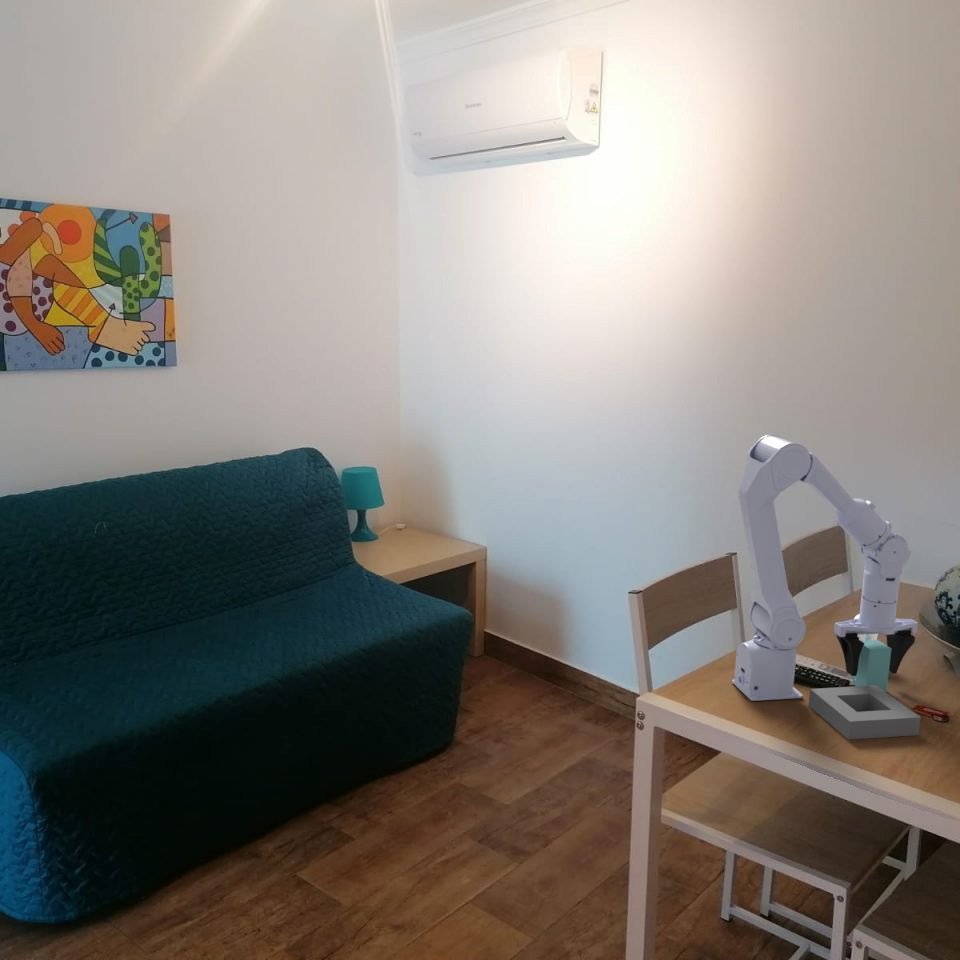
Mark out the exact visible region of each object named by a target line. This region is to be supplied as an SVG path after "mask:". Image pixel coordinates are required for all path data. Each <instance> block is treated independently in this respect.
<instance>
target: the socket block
mask: <svg viewBox="0 0 960 960" xmlns="http://www.w3.org/2000/svg"><path fill="white" fill-rule="evenodd" d="M808 697H809V698H808V707H810V708H811V710H812V711H814V712H815V713H816V714H818V715H819V716H820V717H821V718H822V719H823V720H824V721H826V722H827V724H829V725H830V726H831V727H833V728H834V730H836V731H837V732H838V733H840V735H842V736H843V737H844V738H845V739H847V740H862V739H879V738H891V737H892V738H893V737H908V736H909V737H910V736H919V733H920V725H921V716H920V715H919V714H917V713H916V712H914V711H912V710H911V709H910V708H909V707H907V706H906V705H904V704H903V703H902V702H900V701H899V700H898V699H896V698H894V697H893V696H892V695H890V694H889V693H887V692H885V691H884V690H882V689H881V688H879V687H878V686H877V685H872V686H855V685H854V686H839V687H837V686H836V687H822V688H819V687H818V688H810V689H809V696H808Z"/></svg>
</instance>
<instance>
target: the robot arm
mask: <svg viewBox="0 0 960 960" xmlns="http://www.w3.org/2000/svg"><path fill="white" fill-rule="evenodd" d="M746 460H747V461H746V462H747V463H746V466H745V469H744V472H743V475H742V479H741V481H740V484H739V488H738V498H739V504H740V509H741V514H742V520H743V526H744V531H745V532H744V533H745V538H746V542H747V543H746V544H747V548H748V549H747V550H748V553H749V554H748V555H749V559H750V566H751V571H752V576H753V583H754V588H755V590H753V591H752V592H751V594H750V598H751V606H750V609H749V613H748V617H749V621H750V623H751V625H752V626H753V627H754V632H753V638H752V639H750V640H748V641H744V642H741V643H739V644H738V646H737V649H736V652H735V664H734V677H733V679H732V681H731V682H732V684H734V685H735V687H736V688H738V690H739V691H741V692H742V693H743V694H744V695H745V696H746V697H747V698H748V699H749V700H750V701H752V702H755V701H757V702H758V701H771V700H772V701H774V700H790V699H802V698H804V695H803V693H802V692H800V691H799V690H798V689H797V688H796V687H794V684H795V683H794V682H795V672H796V662H797V661H796V660H797V649H798V645H799V644H800V643H802V641H803V640H804V638H805V636H806V633H807V626H806V623H805V622H806V621H804V619H803V618H802V617H801V615H800V614H799V612H798V607H797V603H796V602H795V599H794V597H793V596H792V594H791V592H790V589H789V587H788V579H787V574H786V567H785V563H784V555H783V550H782V544H781V539H780V533H779V527H778V520H777V516H776V510H775V508H776V507H775V503H774V502H775V500H776V499H777V498H778V497H779V495H780V494H782V492H784V491H785V490H786V489H788V488H790V487H791V486H793V485H794V484H796V483H797V482H798V481H800V482H802V483H805V484H808V485H809V487H811V488H812V489H813V490H814V491H815V492H816V493H817V494H818V496H819V495H820V497H821V498H822V499H824V500H825V501H826V502H827V503H828V505H830V506H831V507H832V508H833V510H835V511H836V512H835V513H836V514H835V521H836V523H837V524H838V525H839V527H841V529H843V530H844V531H845V532H846V533H847V534H848V536H850V538H851V539H852V540H853V541H854V542H855V543H856V544H857V545H858V547H859V551H860V553H861V554H863V555H864V556H865V559H864V570H863V578H862V579H863V580H862V588H861V597H860V598H861V599H860V604H859V605H860V608H859V614H860V615H859V618H857V619H854V618H853V619H849V620H845V621H838V622H835V623H834V627H833V628H834V630H833V631H834V632H833V634H835V636H836V638H837V640H838V642H839V645H840V647H841V650H842V654H843V658H844V662H845V663H844V665H845V671H846V673H847V674H849V675H850V676H852V677H853V676H856V675H857V671H858V663H859V657H860V653H861V650H862V648H863V646H864V643H863V642H862V641H860V640H859V637H858V635H859V634H878V635H879V634H882V635H885V636H886V645H887V646H888V647H890V648H891V657H890V666H889V673H892V675H893V674H897V672H898V670H899V668H900V665H901V663H902V661H903V659H904V657H905V655H906V653H907V652H908V650H909V649H910V648H911V647H912V646H913V645H914V644H915V641H916V637H915V636H914V635H913V634H917V633H918V626H919V622H917V621H916V620H914V619H912V618H897V616H896V615H897V610H898V609H897V607H898V601H899V591H900V590H899V589H900V582H901V581H900V580H901V575H902V574H903V573H902V572H903V567H904V566H905V564H906V563H907V562H908V561H909V559H910V558H911V554H912V550H910V549H909V547H908V541H907V540H906V538H904V537H903V536H901V535H899V534H897V533H895V532H894V531H892V530H893V529H892V528H893V524H891V523H890V522H889V521H887V520H884V519H883V518H882V517H881V516H880V515H879V514H878V513H877V512H876V511H875V509H876V505H875V504H874V503H873V502H872V501H870V500H864V499H863V498H852V496H851V495H850V494H849V493H848V492H847V491H846V489H845V488H844V487H843V486H842V485H841V484H840V483H839V481H838V480H837V479H836V478H835V477H834V475H833V474H832V473H831V472H830V471H829V469H827V467H826V466H825V465H824V464H823V463H822V461H821V459H819V458H818V457H817V456H816V455H815V454H813V453H811V452H809V450H808V448H807V447H806V446H804V444H800V443H798V442H792V441H789V440H788V439H784V438H782V437H781V436H779V435H777V434H766V435H763V436H762V437H760V438H758V440H756V441H755V443H754V444H753V445H752V446H751V448H750V449H749V450H747V452H746Z"/></svg>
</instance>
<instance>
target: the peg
mask: <svg viewBox="0 0 960 960" xmlns="http://www.w3.org/2000/svg"><path fill="white" fill-rule="evenodd" d="M862 642H863V643H864V646H863V648H862V650H861V653H860V657H859V663H858V671H857V675H856V676H852V684H853V685H854V686H872V685H877V686H878V687H879V688H881V689H882V690H884V691H885V692H886V693H887V690H888V682H889V673H890V671H889V666H890V657H891V648H890V647H888V646H887V644H885V643H883V642H882V641H881V640H879V639H877V640H865V641H862ZM854 678H855V679H856V680H855V679H854Z"/></svg>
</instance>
